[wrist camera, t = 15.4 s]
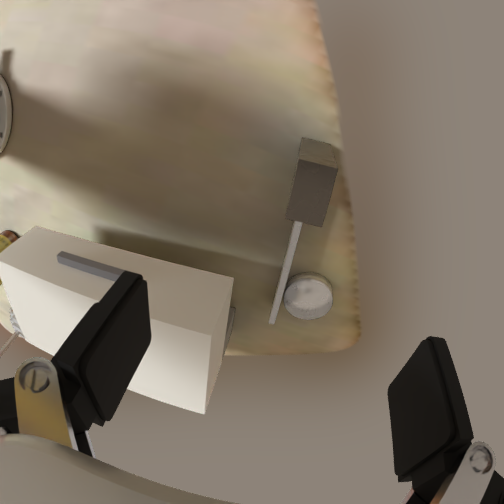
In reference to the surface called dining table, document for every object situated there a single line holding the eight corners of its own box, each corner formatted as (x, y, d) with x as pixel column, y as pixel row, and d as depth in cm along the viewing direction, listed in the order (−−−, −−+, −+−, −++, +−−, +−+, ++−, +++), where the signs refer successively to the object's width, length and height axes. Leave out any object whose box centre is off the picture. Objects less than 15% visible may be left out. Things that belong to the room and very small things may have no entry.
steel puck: (287, 268, 32) (285, 278, 30) (335, 273, 31) (336, 284, 29) (283, 306, 34) (281, 316, 33) (328, 310, 33) (328, 321, 32)
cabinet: (61, 201, 32) (-9, 251, 22) (246, 241, 31) (212, 327, 20) (75, 284, 39) (26, 340, 29) (231, 331, 37) (204, 414, 27)
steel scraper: (302, 137, 25) (298, 159, 18) (330, 144, 24) (338, 168, 18) (264, 302, 34) (251, 357, 27) (285, 307, 34) (276, 363, 27)
